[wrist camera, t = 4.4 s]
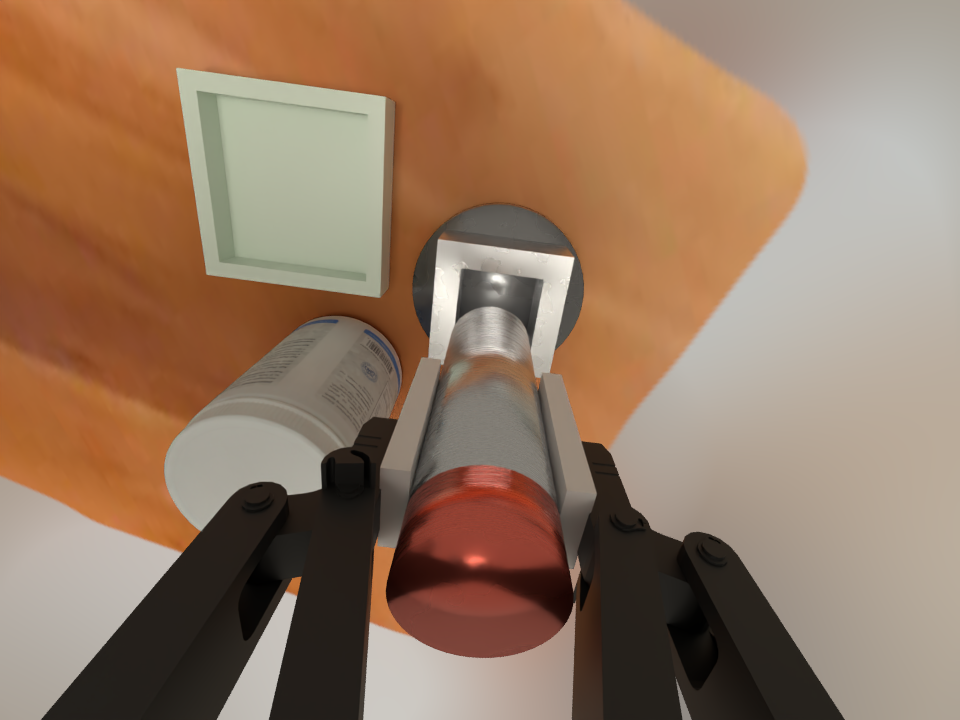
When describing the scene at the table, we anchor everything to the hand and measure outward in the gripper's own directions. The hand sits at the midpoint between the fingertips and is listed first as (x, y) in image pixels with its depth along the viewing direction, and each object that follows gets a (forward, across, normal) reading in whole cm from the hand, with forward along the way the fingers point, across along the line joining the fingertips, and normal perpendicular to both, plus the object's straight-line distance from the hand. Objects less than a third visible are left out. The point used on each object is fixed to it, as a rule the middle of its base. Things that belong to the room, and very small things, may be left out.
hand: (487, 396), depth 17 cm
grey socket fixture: (+16, 0, 0) cm, 16 cm away
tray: (+16, -14, +5) cm, 22 cm away
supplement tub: (+16, -11, -8) cm, 21 cm away
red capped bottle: (+5, 0, 0) cm, 5 cm away
